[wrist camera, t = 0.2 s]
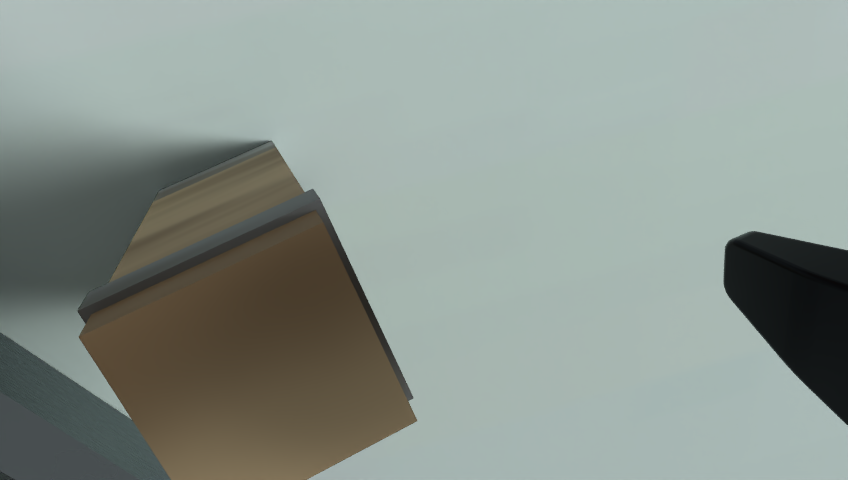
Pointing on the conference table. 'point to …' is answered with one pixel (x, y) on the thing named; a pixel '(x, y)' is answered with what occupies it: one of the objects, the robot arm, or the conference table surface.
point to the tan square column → (244, 331)
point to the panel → (64, 427)
